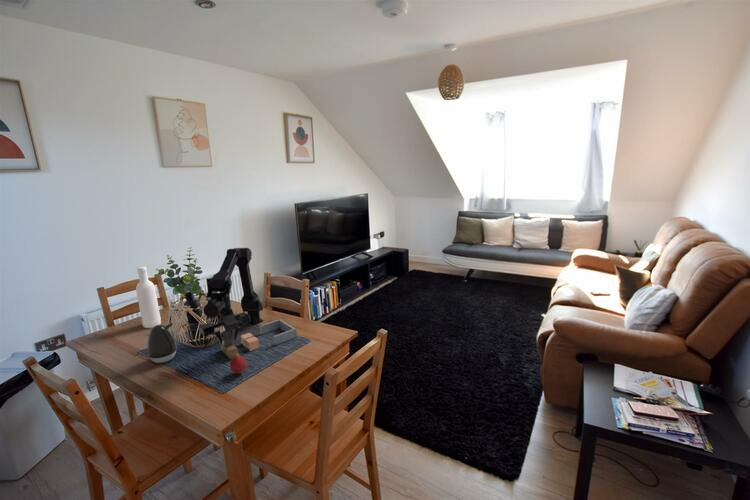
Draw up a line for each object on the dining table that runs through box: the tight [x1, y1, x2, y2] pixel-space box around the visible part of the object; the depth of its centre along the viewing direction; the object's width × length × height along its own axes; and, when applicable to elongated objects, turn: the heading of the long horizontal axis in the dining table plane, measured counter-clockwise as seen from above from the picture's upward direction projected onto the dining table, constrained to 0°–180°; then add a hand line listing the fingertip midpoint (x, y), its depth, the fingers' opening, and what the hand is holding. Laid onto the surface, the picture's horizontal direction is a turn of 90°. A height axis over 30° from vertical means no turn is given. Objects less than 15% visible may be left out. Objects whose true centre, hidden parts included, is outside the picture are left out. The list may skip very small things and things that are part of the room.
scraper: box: [219, 330, 239, 360], centre depth 147 cm, size 11×3×10 cm, turn 43°
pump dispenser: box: [146, 322, 178, 364], centre depth 143 cm, size 10×10×15 cm
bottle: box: [135, 266, 162, 329], centre depth 174 cm, size 8×8×30 cm
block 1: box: [240, 332, 255, 348], centre depth 155 cm, size 4×4×4 cm
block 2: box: [245, 335, 260, 352], centre depth 152 cm, size 4×4×4 cm
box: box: [258, 318, 298, 346], centre depth 162 cm, size 15×10×4 cm
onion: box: [229, 353, 248, 374], centre depth 133 cm, size 6×6×8 cm
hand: (228, 342), depth 147 cm, fingers open, 5 cm apart
